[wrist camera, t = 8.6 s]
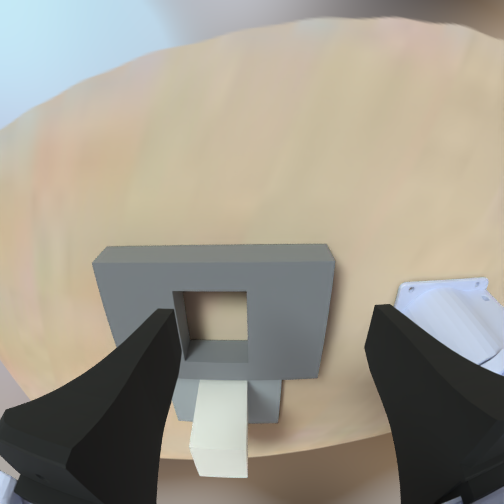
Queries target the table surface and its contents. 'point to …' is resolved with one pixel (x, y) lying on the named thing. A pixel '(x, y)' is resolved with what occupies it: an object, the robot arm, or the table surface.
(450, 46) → the table surface
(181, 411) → the mat
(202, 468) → the plug
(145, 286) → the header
